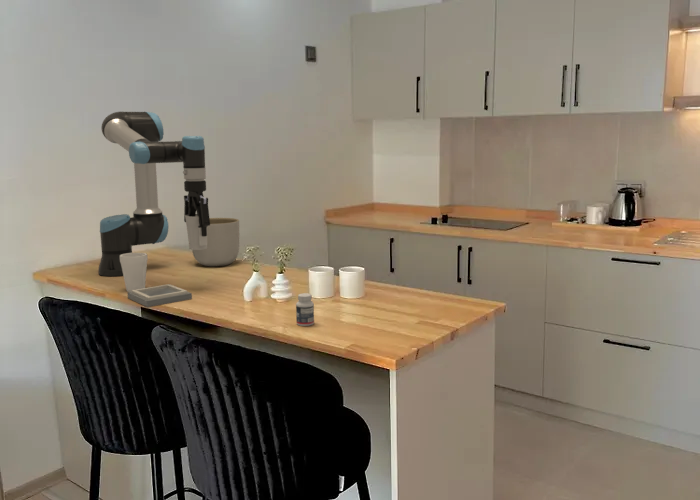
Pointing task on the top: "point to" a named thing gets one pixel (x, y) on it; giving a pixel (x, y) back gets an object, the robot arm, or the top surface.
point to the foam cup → (134, 270)
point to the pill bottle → (305, 310)
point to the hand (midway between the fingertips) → (197, 243)
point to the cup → (193, 232)
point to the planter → (220, 243)
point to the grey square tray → (159, 295)
